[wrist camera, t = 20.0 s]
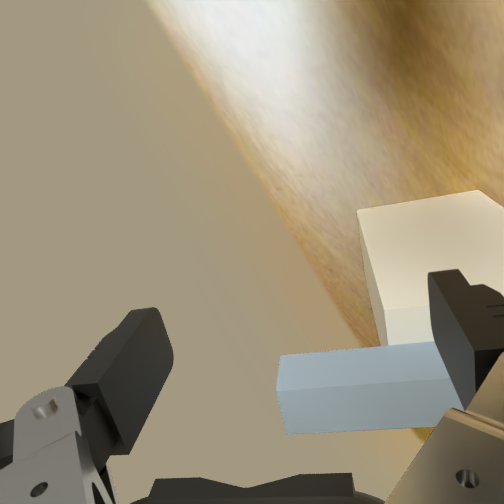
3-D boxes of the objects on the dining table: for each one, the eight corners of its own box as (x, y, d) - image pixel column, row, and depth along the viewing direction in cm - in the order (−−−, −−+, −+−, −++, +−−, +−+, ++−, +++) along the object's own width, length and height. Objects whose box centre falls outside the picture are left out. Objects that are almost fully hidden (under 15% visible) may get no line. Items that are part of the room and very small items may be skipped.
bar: (280, 355, 32) (275, 391, 29) (674, 318, 27) (731, 356, 23) (290, 395, 34) (286, 434, 30) (666, 368, 28) (717, 412, 25)
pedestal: (356, 210, 51) (384, 310, 30) (478, 189, 48) (610, 284, 26) (365, 281, 55) (397, 417, 33) (480, 266, 52) (597, 406, 30)
